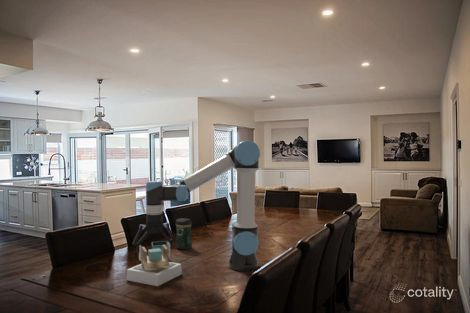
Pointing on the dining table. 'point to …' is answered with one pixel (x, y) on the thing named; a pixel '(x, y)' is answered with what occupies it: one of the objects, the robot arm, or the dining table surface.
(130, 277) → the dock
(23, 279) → the dining table surface
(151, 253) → the teal block
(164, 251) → the tan plastic holder
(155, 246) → the flower pot
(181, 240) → the coffee jar
